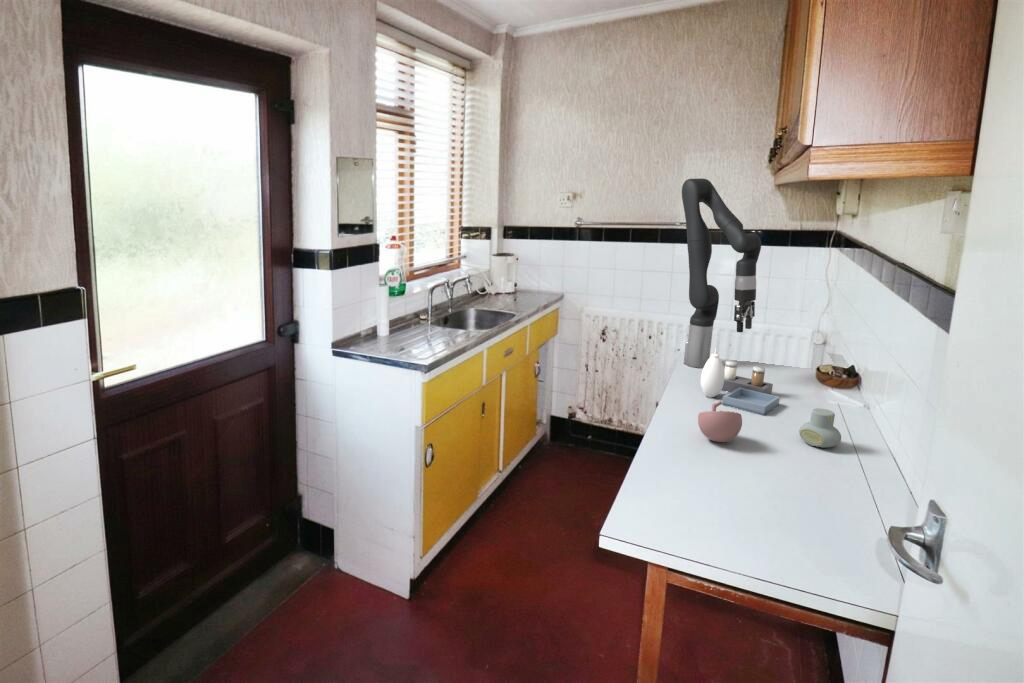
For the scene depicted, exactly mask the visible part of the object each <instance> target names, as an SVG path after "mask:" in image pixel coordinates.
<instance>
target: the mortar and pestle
mask: <svg viewBox="0 0 1024 683" xmlns="http://www.w3.org/2000/svg"><path fill="white" fill-rule="evenodd" d="M721 405H722V400H719V401H718V402H715V403H714V402H713V403H712V404H711V410H706V411H702V412H701V411H700V412H699V413H698V415H697V424H698V427H699V430H700V432H701V434H702V435H703V436H704V437H706V438H707V439H709V440H711V441H712V442H716V443H726V442H729V441H732V440H733V439H735V438H736V437H737V436H738V435H739V434H740V432H741V430H742V426H743V416H742V414H741V413H739V412H735V411H728V410H726V411H725V410H718V411H717V408H718V407H719V406H721Z"/></svg>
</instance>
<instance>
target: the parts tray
mask: <svg viewBox="0 0 1024 683" xmlns="http://www.w3.org/2000/svg"><path fill="white" fill-rule="evenodd" d="M780 399H781V396H778V395H773V394H771V395H769V394H765V393H761V392H757V391H753V390H748V389H744V388H740V387H739V388H737V389H736V390H734V391H732V392H727V394H725V395H723V396H722V400H721V402H722V404H721V405H722V406H725V405H726V407H729V406H730V408H733V407H734V409H737V408H738V409H737V410H740V409H742V410H741V411H744V410H746V411H745V412H748V411H749V413H752V412H753V414H755V415H756V414H757V415H760V416H765V415H767V414H769V413H770V412H771V411H773V410H775V409H776V408H777V407H779V406H780Z"/></svg>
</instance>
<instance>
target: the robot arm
mask: <svg viewBox="0 0 1024 683" xmlns="http://www.w3.org/2000/svg"><path fill="white" fill-rule="evenodd" d="M681 198H682V206H683V211H684V217H685V227H686V238H687V239H686V241H687V242H686V243H687V256H688V270H689V278H688V279H689V281H688V282H689V284H688V286H689V287H688V299H689V303H690V305H691V306H692V307H693V308H694V309H695V311H694V313H693V314H692V315H691V316H690V318H689V326H688V327H689V328H688V337H687V341H686V342H685V346H684V357H683V365H686V366H688V367H692V368H696V367H697V369H703V368H704V366H705V364H706V362H707V361H708V359H709V358H710V357H711V349H712V338H713V331H714V330H713V329H714V323H715V320H716V319H717V314H718V309H719V308H718V307H719V301H720V300H719V298H720V294H719V291H718V289H717V288H716V287H715V286H714V285H711V284H708V276H707V275H708V268H709V266H710V261H711V258H712V253H713V246H712V245H713V244H712V234H711V231H710V229H709V227H708V226H707V223H706V222H705V221H704V219H703V217H702V214H701V208H700V203H703V204H704V205H706V206H707V207H709V209H710V210H711V212H712V216H713V220H714V222H715V224H716V226H717V228H719V230H720V231H722V233H723V234H724V235H725V236H726V238H727V240H728V242H729V245H730V246H731V248H732V249H733V250H734V251H735V252H737V253H739V254H743V255H742V258H741V259H739V260H737V261H736V266H735V278H734V279H735V280H734V300H735V301H737V302H738V304H734V314H733V322H736V332H737V333H743V332H744V328H745V329H746V330H751V329H752V324H753V323H752V322H753V319H754V317H755V316H756V315H755V314H756V313H755V308H756V307H755V306H756V303H755V301H756V300H757V263H758V261H759V256H760V254H761V251H762V250H761V248H762V241H761V240H762V239H761V238H760V236H759V235H758V234H757V233H751V232H750V233H745V232H743V230H744V224H743V223H742V221H741V220H740V219H739V218H738V217H737V216H736V215H735V214H734V213H733V212H732V211H731V210H730V209H729V208H728V206H727V204H726V203H725V201H723V199H722V197H721V195H720V194H719V192H718V191H717V189H716V187H715V186H714V185H713V184H712V182H711V181H710V180H709V179H707V178H688V179H686V180H685V181H684V182H683V183H682V186H681ZM744 321H745V324H744Z"/></svg>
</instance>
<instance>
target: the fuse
mask: <svg viewBox="0 0 1024 683" xmlns="http://www.w3.org/2000/svg"><path fill="white" fill-rule="evenodd" d="M737 368H738V361H736V360H726V361H725V364H724V375H725V378H724V379H728V380H732V381H735V378H736V376H737V371H738V370H737Z"/></svg>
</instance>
